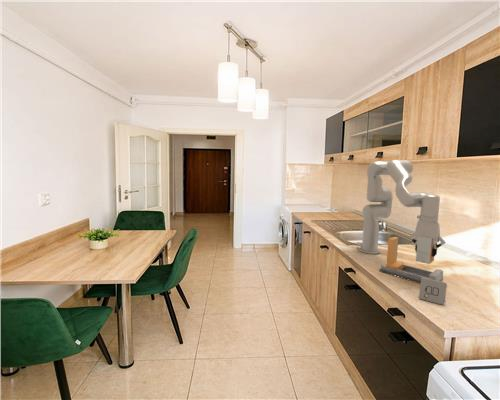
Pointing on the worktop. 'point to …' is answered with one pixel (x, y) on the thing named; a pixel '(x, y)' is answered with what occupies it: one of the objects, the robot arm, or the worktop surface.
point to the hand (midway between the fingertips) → (425, 253)
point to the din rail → (414, 273)
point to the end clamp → (393, 254)
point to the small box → (424, 250)
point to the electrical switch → (433, 290)
